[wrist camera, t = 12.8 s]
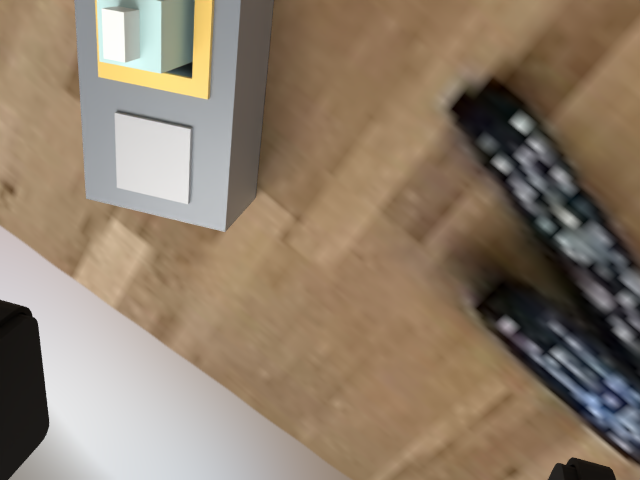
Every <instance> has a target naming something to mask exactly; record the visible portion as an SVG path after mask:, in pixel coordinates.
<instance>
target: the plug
mask: <svg viewBox="0 0 640 480" xmlns="http://www.w3.org/2000/svg"><path fill="white" fill-rule="evenodd" d="M194 8H195V0H97V19H98V41H99V62H104V63H109V64H115V65H120V66H125V67H130V68H135V69H140V70H145V71H150V72H155V73H160V74H162V73H164V72H167V71H169V70H172V69H175V68H177V67H180V66H183V65H185V64H188V63H191V62H193V39H194Z"/></svg>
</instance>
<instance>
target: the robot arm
mask: <svg viewBox="0 0 640 480" xmlns="http://www.w3.org/2000/svg"><path fill="white" fill-rule="evenodd" d="M48 428H49V416H48V407H47V398H46V390H45V381H44V373H43V363H42V355H41V346H40V337H39V329H38V323H37V320H36V319H35V318H34V317H32V313H31V311H30V309H29V308H27V307H24V306H20V305H17V304H13V303H10V302H6V301H2V300H0V480H8V479H9V478H10V477H11V476H12V475H13V474H14V472H15V471H16V470H17V469H18V468H19V467H20V466H21V465H22V463H23V462H24V461H25V460H26V459H27V458H28V457H29V456H30V455H31V453H32V452H33V451H34V450H35V449H36V448H37V447H38V446H39V444H40V443H41V442H42V441H43V439H44V438H45V436H46V433H47V431H48ZM548 480H616V478H615V475H614V473H613V470H612V469H611V468H610V467H606V466H603V465H599V464H596V463H592V462H588V461H585V460H581V459H577V458H571V459H569V461H568V462H567V464H566V465H564V464H561V463H557V464H556V465H555V466H554V468H553V470H552V472H551V474H550V477H549V479H548Z"/></svg>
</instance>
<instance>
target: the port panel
mask: <svg viewBox="0 0 640 480" xmlns="http://www.w3.org/2000/svg"><path fill="white" fill-rule="evenodd" d="M273 5H274V0H195V8H194V39H193V62H191V63H188V64H185V65H183V66H180V67H177V68H175V69H172V70H169V71H167V72H164V73H162V74H160V73H155V72H150V71H145V70H140V69H135V68H130V67H125V66H120V65H115V64H109V63H104V62H99V41H98V19H97V0H75V17H76V34H77V51H78V68H79V85H80V102H81V119H82V136H83V153H84V170H85V187H86V199H90V200H95V201H99V202H103V203H107V204H111V205H115V206H120V207H124V208H128V209H132V210H136V211H140V212H145V213H149V214H153V215H157V216H161V217H165V218H170V219H174V220H178V221H182V222H186V223H190V224H194V225H199V226H203V227H207V228H211V229H215V230H219V231H224V232H225V231H226V230H227V229H228V228H229V227H230V226H231V225H232V224H233V223H234V221H235V220H236V219H237V218H238V217H239V216H240V215H241V214H242V213H243V211H244V210H245V209H246V208H247V207H248V206H249V205H250V204H251V203H252V201H253V200H254V199H255V198H256V188H257V177H258V166H259V155H260V145H261V134H262V123H263V112H264V102H265V91H266V80H267V69H268V58H269V48H270V37H271V26H272V15H273Z"/></svg>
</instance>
